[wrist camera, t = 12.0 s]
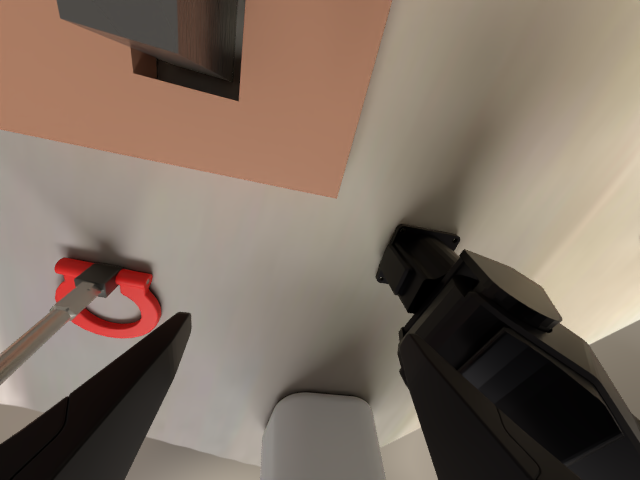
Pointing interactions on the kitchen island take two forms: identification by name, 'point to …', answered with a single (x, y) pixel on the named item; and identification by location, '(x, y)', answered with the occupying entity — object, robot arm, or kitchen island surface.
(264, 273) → the kitchen island surface
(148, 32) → the dark gray brick
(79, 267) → the tow hook
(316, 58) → the tan flat board
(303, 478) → the plastic bottle
